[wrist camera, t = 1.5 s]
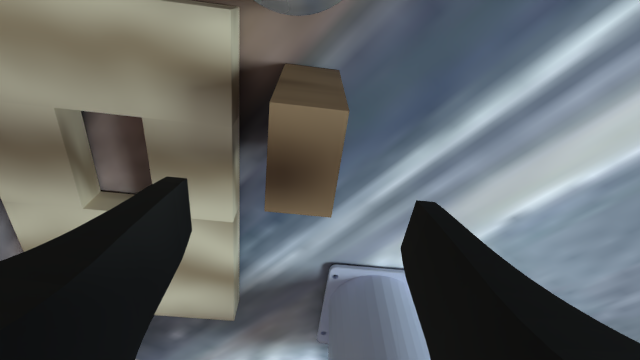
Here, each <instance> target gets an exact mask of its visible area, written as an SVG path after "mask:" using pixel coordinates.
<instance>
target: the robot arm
mask: <svg viewBox="0 0 640 360" xmlns="http://www.w3.org/2000/svg"><path fill="white" fill-rule="evenodd" d="M191 232H192V223H191V213H190V202H189V192H188V181H187V178H179V177H168V176H167V177H165V178H163V179H161V180H159V181H157V182H156V183H154V184H152V185H150V186H149V187H147V188H145V189H144V190H142V191H141V192H139V193H137V194H136V195H134V196H132V197H131V198H129V199H127V200H125V201H124V202H122V203H120V204H119V205H117V206H115V207H114V208H112V209H110V210H108V211H107V212H105V213H103V214H101V215H99V216H97V217H95V218H94V219H92V220H90V221H88V222H86V223H84V224H82V225H81V226H79V227H77V228H75V229H73V230H71V231H69V232H67V233H65V234H63V235H61V236H59V237H57V238H54V239H52V240H50V241H48V242H46V243H43V244H41V245H39V246H37V247H34V248H32V249H30V250H28V251H25V252H23V253H20V254H18V255H15V256H13V257H10V258H8V259H5V260H2V261H0V360H135V358H136V355H137V353H138V350H139V347H140V345H141V342H142V340H143V337H144V335H145V333H146V331H147V329H148V326H149V324H150V322H151V320H152V318H153V316H154V314H155V312H156V310H157V308H158V306H159V304H160V302H161V301H162V299H163V297H164V295H165V293H166V291H167V289H168V287H169V285H170V283H171V281H172V279H173V277H174V275H175V273H176V271H177V269H178V267H179V265H180V263H181V261H182V259H183V256H184V253H185V250H186V248H187V245H188V242H189V239H190V235H191ZM401 254H402V260H403V266H404V270H396V269H384V268H372V267H360V266H349V265H337V264H336V265H332V266H331V267H330V268H329V273H328V279H327V284H326V290H325V295H324V300H323V306H322V311H321V316H320V322H319V327H318V333H317V341H318V342H319V343H325V344H328V360H640V343H638V342H636V341H634V340H632V339H630V338H628V337H627V336H625V335H623V334H621V333H619V332H617V331H615V330H613V329H612V328H610V327H608V326H606V325H604V324H602V323H601V322H599V321H597V320H595V319H594V318H592V317H590V316H588V315H587V314H585V313H583V312H582V311H580V310H578V309H577V308H575V307H573V306H571V305H570V304H568V303H566V302H565V301H563V300H562V299H560V298H558V297H557V296H555V295H554V294H552V293H551V292H549V291H548V290H546V289H545V288H543V287H542V286H540V285H539V284H537V283H536V282H534V281H533V280H531V279H530V278H528V277H527V276H526V275H524V274H523V273H521V272H520V271H519V270H517V269H516V268H515V267H513V266H512V265H511V264H509V263H508V262H507V261H505V260H504V259H503V258H502V257H500V256H499V255H498V254H496V253H495V252H494V251H493V250H491V249H490V248H489V247H488V246H487V245H485V244H484V243H483V242H482V241H481V240H479V239H478V238H477V237H476V236H475V235H473V234H472V233H471V232H470V231H469V230H468V229H466V228H465V227H464V226H463V225H462V224H461V223H460V222H458V221H457V220H456V219H455V218H454V217H453V216H451V215H450V214H449V213H448V212H447V211H446V210H444V209H443V208H442V207H441V206H439V205H438V204H437V203H435V202H427V201H417V200H416V203H415V206H414V209H413V212H412V215H411V218H410V221H409V224H408V227H407V230H406V233H405V236H404V239H403V242H402V245H401ZM334 275H336V276H334Z"/></svg>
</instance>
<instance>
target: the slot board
mask: <svg viewBox="0 0 640 360" xmlns="http://www.w3.org/2000/svg"><path fill="white" fill-rule="evenodd" d="M81 111H88V112H97V113H106V114H115V115H124V116H133V117H142V121H143V127H144V134H145V141H146V147H147V154H148V160H149V167H150V173H151V180H152V184H154V183H156V182H157V181H159V180H161V179H163V178H165V177H167V176H168V177H179V178H187V181H188V192H189V202H190V213H191V223H192V232H191V235H190V239H189V242H188V245H187V248H186V250H185V253H184V256H183V259H182V261H181V263H180V265H179V267H178V269H177V271H176V273H175V275H174V277H173V279H172V281H171V283H170V285H169V287H168V289H167V291H166V293H165V295H164V297H163V299H162V301H161V302H160V304H159V306H158V308H157V310H156V312H155V314H154V315H160V316H174V317H187V318H201V319H215V320H229V321H234V320H235V316H236V311H237V307H238V303H239V7H236V6H228V5H221V4H213V3H206V2H198V1H191V0H0V198H1V200H2V202H3V205H4V207H5V209H6V212H7V214H8V216H9V219H10V221H11V223H12V226H13V228H14V230H15V233H16V235H17V237H18V240H19V242H20V244H21V247H22V249H23V251H24V252H25V251H28V250H30V249H32V248H34V247H37V246H39V245H41V244H43V243H46V242H48V241H50V240H52V239H54V238H57V237H59V236H61V235H63V234H65V233H67V232H69V231H71V230H73V229H75V228H77V227H79V226H81V225H82V224H84V223H86V222H88V221H90V220H92V219H94V218H95V217H97V216H99V215H101V214H103V213H105V212H107V211H108V210H110V209H112V208H114V207H115V206H117V205H119V204H120V203H122V202H124V201H125V200H127V199H129V198H131V197H132V196H134V195H133V194H122V193H112V192H101V191H100V187H99V183H98V179H97V174H96V170H95V166H94V162H93V158H92V154H91V150H90V146H89V142H88V138H87V134H86V130H85V126H84V122H83V118H82V114H81Z"/></svg>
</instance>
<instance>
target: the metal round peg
mask: <svg viewBox="0 0 640 360" xmlns="http://www.w3.org/2000/svg"><path fill="white" fill-rule="evenodd" d="M254 1H255V2H257V3H258V4H260V5H262V6H263V7H265V8H267V9H269V10H272V11H275V12H278V13H281V14H286V15H296V16H301V15H310V14H315V13H319V12H321V11H324V10H327V9H329V8H331V7H332V6H334V5H336V4H338V3H339V2H340V1H342V0H254Z"/></svg>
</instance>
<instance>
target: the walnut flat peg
mask: <svg viewBox="0 0 640 360" xmlns="http://www.w3.org/2000/svg"><path fill="white" fill-rule="evenodd" d="M348 116H349V108H348V104H347V100H346V96H345V92H344V88H343V84H342V80H341V76H340V72H339V70H333V69H325V68H317V67H309V66H301V65H293V64H285V65H284V68H283V70H282V73H281V75H280V78H279V80H278V83H277V85H276V88H275V90H274V93H273V95H272V98H271V100H270V105H269V127H268V148H267V169H266V191H265V211H268V212H279V213H290V214H300V215H311V216H321V217H331V215H332V209H333V203H334V197H335V192H336V186H337V180H338V174H339V168H340V162H341V157H342V151H343V145H344V139H345V133H346V127H347V122H348Z"/></svg>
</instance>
